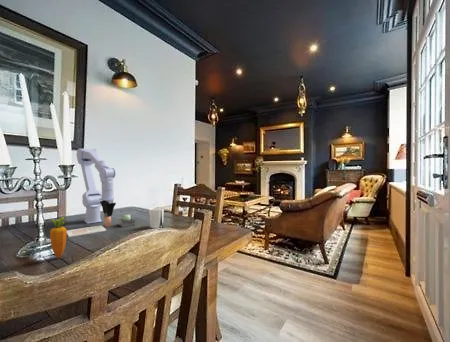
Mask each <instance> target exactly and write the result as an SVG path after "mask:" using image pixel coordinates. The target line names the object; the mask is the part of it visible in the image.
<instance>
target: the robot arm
mask: <svg viewBox="0 0 450 342" xmlns="http://www.w3.org/2000/svg"><path fill="white" fill-rule="evenodd" d="M76 160H77V163H78V164H79V165H80V167H81V168H80V169H81V171H82V176H83V181H84V185H85V189H86V191H85V192H84V193H83V194H82V205H83V206H84V208H85V209H86V210H85V219H84V220H83V221H84V222H85V223H86V224H87V225H88V224H89V225H90V224H95V223H101V222H103V220H102V219H101V209H102V212H103V214H104V213H107V216H111V217H112V216H113V213H114V209H115V206H116V204H117V203H116V202H114V178H115V177H116V170H115V168H114V167H110V166H109V165H108V164H107V163H106V161H105V160H101V159H100V157H99V151H97V149H95V148H80V147H79V148H78V149H77V150H76ZM93 164H94V167H95V169H96V170H97V171H98V173H99V174H98V175H99V178H100V179H99V180H100V183H101V191H100V190H98V189H97V187H96V183H95V178H94V174H93V169H92V165H93Z"/></svg>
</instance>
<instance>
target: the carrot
mask: <svg viewBox="0 0 450 342" xmlns="http://www.w3.org/2000/svg"><path fill="white" fill-rule="evenodd" d="M64 219H65V218H64V217H63V216H62V217H60V218H59V219H54V218H52V219H51V221H52V223H53V225H54V226H55V227H53V228H50V230H49V238H50V239H49V240H50V245H51V249H52V251H53V252H52V253H54V255H55V257H56V258H57V259H60V258H61V257H62V255H63V254H64V251H65V249H66V246H67V245H66V244H67V237H68V235H67V230H68V229H67V228H66V227H64V224H65V222H64Z"/></svg>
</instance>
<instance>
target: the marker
mask: <svg viewBox="0 0 450 342" xmlns="http://www.w3.org/2000/svg"><path fill="white" fill-rule="evenodd" d="M103 214H104V215H103V217H104V228H109V227H111V226H112V216H107V213H104V212H103Z"/></svg>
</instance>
